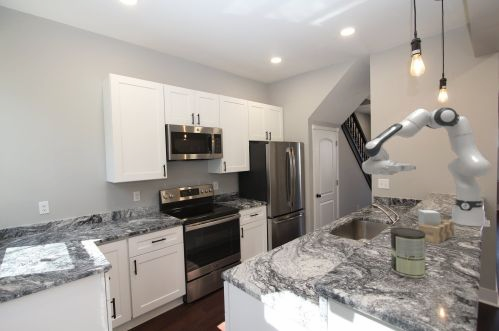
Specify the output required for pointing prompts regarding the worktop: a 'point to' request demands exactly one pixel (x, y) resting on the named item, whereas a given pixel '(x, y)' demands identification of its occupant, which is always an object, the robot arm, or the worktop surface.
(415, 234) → the coffee can
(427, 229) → the oak rack
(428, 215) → the supplement box
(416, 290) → the worktop surface
